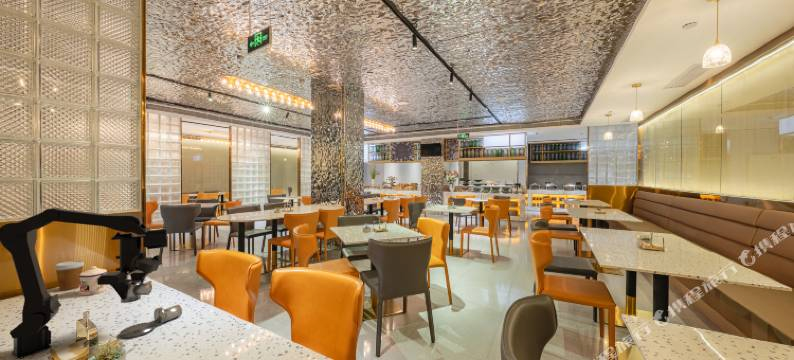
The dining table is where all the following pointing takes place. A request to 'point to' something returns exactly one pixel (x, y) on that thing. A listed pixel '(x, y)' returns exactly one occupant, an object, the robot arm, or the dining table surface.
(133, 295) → the elbow
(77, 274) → the disposable coffee cup
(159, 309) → the silver metal long piece
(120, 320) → the dining table surface
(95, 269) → the teacup with lid
